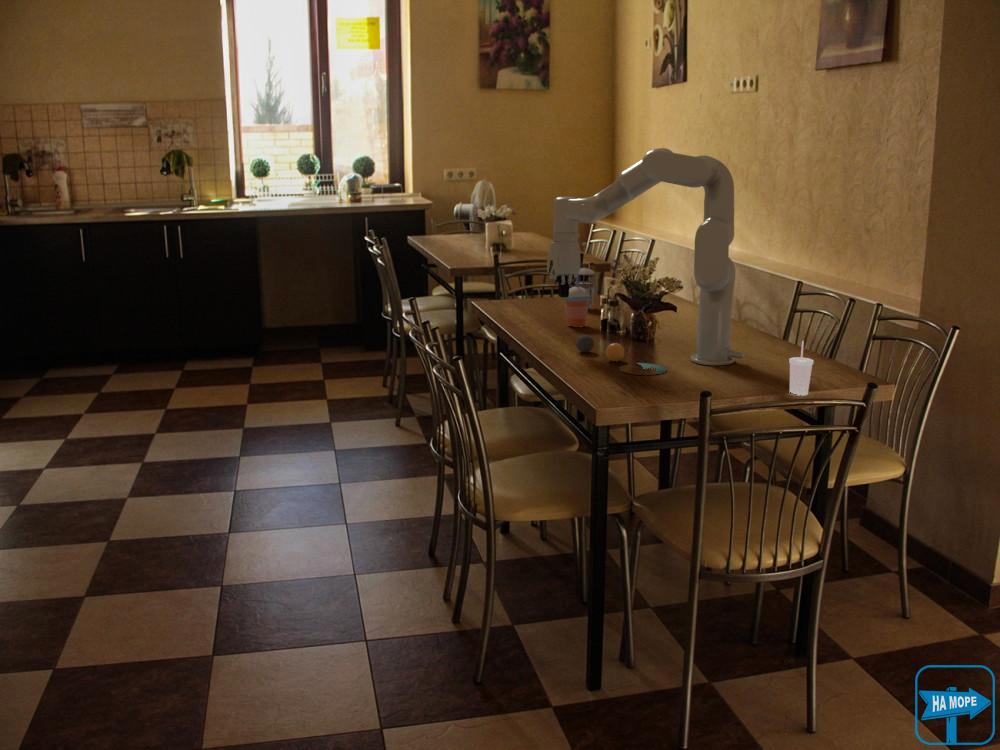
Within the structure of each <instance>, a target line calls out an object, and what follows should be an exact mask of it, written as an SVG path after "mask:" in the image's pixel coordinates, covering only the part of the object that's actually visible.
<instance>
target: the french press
mask: <svg viewBox="0 0 1000 750" xmlns="http://www.w3.org/2000/svg"><path fill="white" fill-rule="evenodd" d="M581 245H582V246H583V248H584V249H583V261H585V254H586V253H585V252H586V249H585V247H586V246H588V243H587V242H583V243H582V244H581ZM591 275H595V271H594V270H593V269H591V268H587V267H580V271H579V276H591ZM588 280H589V281H588ZM588 280H586V281H585V277H583V280H581V281H580V280H578V287H582V288H583V289H585V290H586V291H587V293H588V295H589V296H590V300H588V308H591V307H593V306H594V302H595V301H594V299H595V296H596V295H597V293H598V290H599V285H598V281H597V279H596V278H595V277H594V276H593V277H589V278H588ZM594 280H595V282H596V285H597V286H596V287H597V288H596V287H595V282H594ZM574 284H575V285H574V286H573V287H576V281H575V282H574ZM595 288H596V289H595ZM595 290H596V293H595Z"/></svg>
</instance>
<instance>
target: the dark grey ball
mask: <svg viewBox="0 0 1000 750" xmlns="http://www.w3.org/2000/svg"><path fill="white" fill-rule="evenodd" d="M575 345H576V348H577V350H578V351H580V352H582V353H585V354H586V353H590V352H591V351H592V350H593V349H594V347H595V341H594V338H593V337H592V336H591V335H590V334H582V335H580V336H579V337H578V338H577V339H576V342H575Z"/></svg>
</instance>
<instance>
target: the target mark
mask: <svg viewBox="0 0 1000 750" xmlns="http://www.w3.org/2000/svg"><path fill="white" fill-rule="evenodd" d="M636 363H637V364H639V365H641V366H642V367H643V369H646V368H647V369H648V368H649V369H650V368H651V367H652V368H651V369H653V368H654V369H655V368H656V372H657V373H656V374H660V375H663V374H662V373H664V374H666V373H667V372H668V368H667V367H665V366H662V365H659V364H654V363H648V362H645V363H644V362H636ZM647 369H646V370H647ZM666 371H667V372H666ZM665 372H666V373H665ZM645 373H646V372H645ZM652 373H653V372H652Z"/></svg>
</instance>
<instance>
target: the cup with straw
mask: <svg viewBox="0 0 1000 750" xmlns="http://www.w3.org/2000/svg"><path fill="white" fill-rule="evenodd" d="M578 281H579V276H578V277H576V278H575V282H576V284H575V286H576V287H574V286H571V287H569V297H566V298H563V300H564V301H565V303H564V304H565V305H564V306H565V307H564V308H565V317H566V326H567V325H568V326H575V327H580V326H584V327H586V321H587V317H588V310H587V309H588V300H590V301H591V299H590V296H589V295H588V293H587V291H586V290H585V289H583V288H582V287H578ZM568 326H567V327H568ZM580 328H581V327H580Z"/></svg>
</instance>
